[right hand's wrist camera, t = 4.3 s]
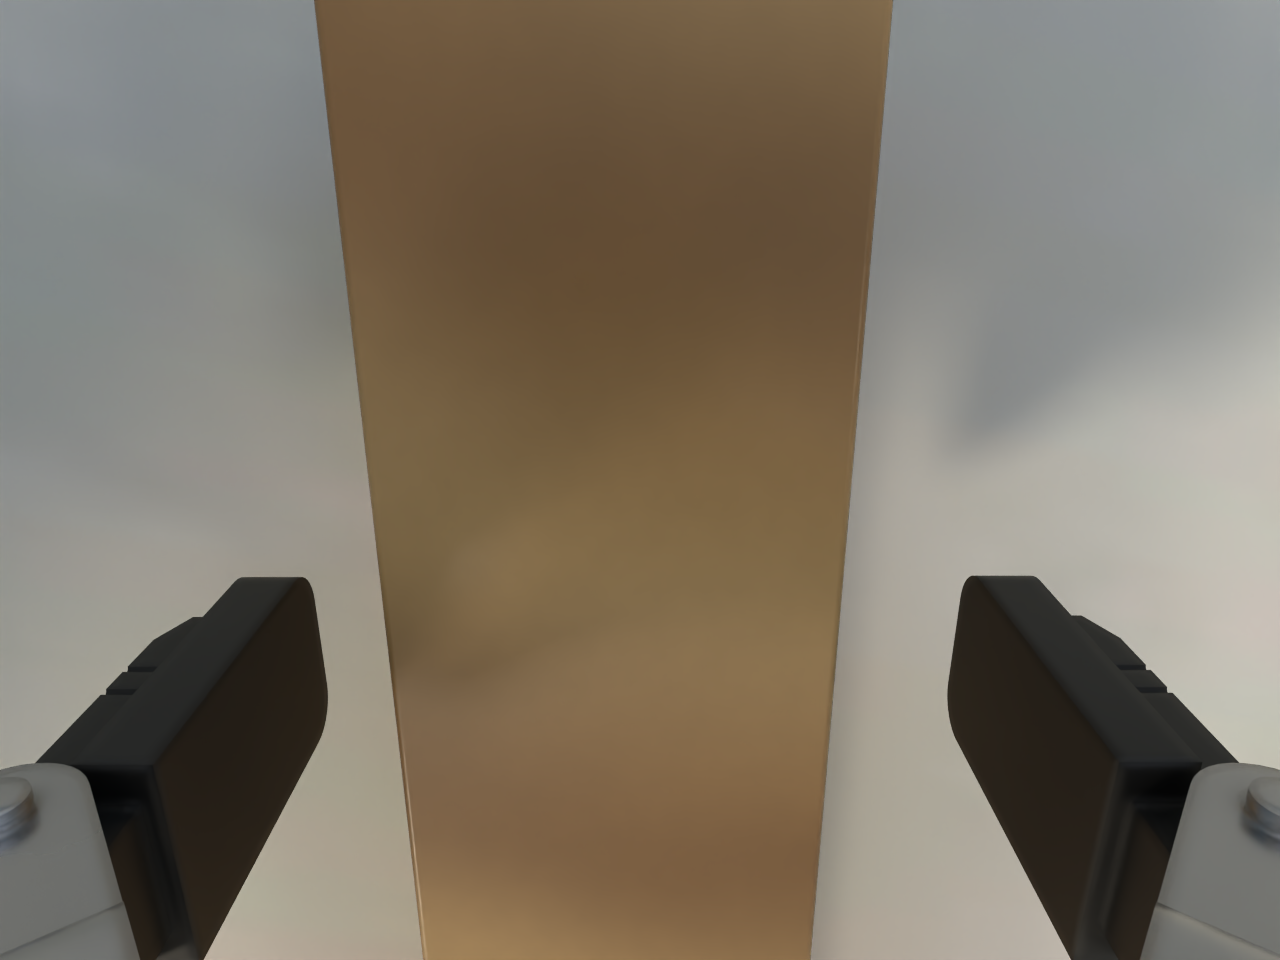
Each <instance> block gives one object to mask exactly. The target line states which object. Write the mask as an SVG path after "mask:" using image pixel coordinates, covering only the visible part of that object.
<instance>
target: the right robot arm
mask: <svg viewBox="0 0 1280 960" xmlns="http://www.w3.org/2000/svg"><path fill="white" fill-rule="evenodd" d="M327 705H328V690H327V681H326V675H325V668H324V661H323V654H322V647H321V640H320V633H319V626H318V620H317V613H316V606H315V599H314V594H313V590H312V587H311V585H310V583H309V582H308V580H307V579H306V578H303V577H241V578H239V579H237V580H236V581H235V582H234V583H233V584H232V585H231V587H230V588H229V589H228V590H227V591H226V592H225V593H224V594H223V595H222V597H221V598H220V599H219V600H218V601H217V602H216V603H215V604H214V605H213V606H212V608H211V609H210V610H209V611H208V612H207V613H206V614H205V615H204V616H203V617H192V618H191V619H189V620H187V621H186V622H184V623H182V624H180V625H179V626H177V627H175V628H173V629H172V630H170V631H168V632H167V633H165V634H163V635H161V636H160V637H158V638H156V639H154V640H153V641H152V642H151V643H150V644H149V645H148V646H147V647H146V648H145V649H144V651H143V652H142V653H141V654H140V655H139V656H138V657H137V658H136V659H135V660H134V661H133V662H132V663H131V664H130V665H129V666H128V671H127V672H122V673H121V674H120V675H119V676H118V678H117V679H116V680H115V681H114V682H113V683H112V684H111V685H110V686H109V687H108V688H107V689H106V695H100V696H99V697H98V698H97V699H96V700H95V701H94V702H93V703H92V705H91V706H90V707H89V708H88V709H87V710H86V711H85V712H84V713H83V714H82V715H81V716H80V717H79V718H78V719H77V720H76V721H75V722H74V723H73V724H72V725H71V726H70V727H69V728H68V729H67V731H66V732H65V733H64V734H63V735H62V736H61V737H60V738H59V739H58V740H57V741H56V742H55V743H54V744H53V745H52V746H51V747H50V748H49V749H48V750H47V751H46V752H45V753H44V754H43V755H42V756H41V758H40V759H39V760H38V761H37V762H36V763H34V764H25V765H19V766H14V767H10V768H5V769H2V770H0V960H204V958H205V956H206V954H207V952H208V950H209V948H210V947H211V945H212V943H213V941H214V939H215V937H216V935H217V933H218V931H219V930H220V928H221V926H222V924H223V922H224V920H225V918H226V916H227V914H228V912H229V911H230V909H231V907H232V905H233V903H234V901H235V899H236V897H237V895H238V894H239V892H240V890H241V888H242V886H243V884H244V882H245V880H246V878H247V877H248V875H249V873H250V871H251V869H252V867H253V865H254V863H255V861H256V860H257V858H258V856H259V854H260V852H261V850H262V848H263V846H264V844H265V843H266V841H267V839H268V837H269V835H270V833H271V831H272V829H273V827H274V826H275V824H276V822H277V820H278V818H279V816H280V814H281V812H282V810H283V809H284V807H285V805H286V803H287V801H288V799H289V797H290V795H291V793H292V792H293V790H294V788H295V786H296V784H297V782H298V780H299V778H300V776H301V775H302V773H303V771H304V769H305V767H306V765H307V763H308V761H309V759H310V758H311V756H312V754H313V752H314V750H315V748H316V746H317V744H318V742H319V740H320V738H321V736H322V733H323V729H324V726H325V721H326V715H327ZM948 711H949V718H950V723H951V727H952V730H953V733H954V736H955V738H956V740H957V742H958V744H959V746H960V748H961V750H962V752H963V754H964V756H965V758H966V759H967V761H968V763H969V765H970V767H971V769H972V771H973V773H974V775H975V777H976V779H977V780H978V782H979V784H980V786H981V788H982V790H983V792H984V794H985V796H986V798H987V800H988V802H989V803H990V805H991V807H992V809H993V811H994V813H995V815H996V817H997V819H998V821H999V823H1000V824H1001V826H1002V828H1003V830H1004V832H1005V834H1006V836H1007V838H1008V840H1009V842H1010V844H1011V846H1012V847H1013V849H1014V851H1015V853H1016V855H1017V857H1018V859H1019V861H1020V863H1021V865H1022V867H1023V868H1024V870H1025V872H1026V874H1027V876H1028V878H1029V880H1030V882H1031V884H1032V886H1033V888H1034V890H1035V891H1036V893H1037V895H1038V897H1039V899H1040V901H1041V903H1042V905H1043V907H1044V909H1045V911H1046V912H1047V914H1048V916H1049V918H1050V920H1051V922H1052V924H1053V926H1054V928H1055V930H1056V932H1057V934H1058V935H1059V937H1060V939H1061V941H1062V943H1063V945H1064V947H1065V949H1066V951H1067V953H1068V955H1069V956H1070V958H1071V960H1280V770H1278V769H1275V768H1270V767H1266V766H1261V765H1255V764H1246V763H1239V762H1238V761H1237V760H1236V759H1235V758H1234V757H1233V756H1232V755H1231V754H1230V753H1229V752H1228V751H1227V750H1226V748H1225V747H1224V746H1223V745H1222V744H1221V743H1220V742H1219V741H1218V740H1217V739H1216V738H1215V737H1214V736H1213V735H1212V734H1211V733H1210V732H1209V731H1208V730H1207V729H1206V728H1205V726H1204V725H1203V724H1202V723H1201V722H1200V721H1199V720H1198V719H1197V718H1196V717H1195V716H1194V715H1193V714H1192V713H1191V712H1190V711H1189V710H1188V709H1187V708H1186V707H1185V706H1184V704H1183V703H1182V702H1181V701H1180V700H1179V699H1178V698H1177V697H1176V696H1175V695H1174V694H1173V693H1168V692H1167V687H1166V686H1165V685H1164V683H1163V682H1162V681H1161V680H1160V679H1159V678H1158V677H1157V676H1156V675H1155V674H1154V673H1153V672H1152V671H1151V670H1146V665H1145V664H1144V663H1143V661H1142V660H1141V659H1140V658H1139V657H1138V656H1137V655H1136V654H1135V653H1134V652H1133V651H1132V650H1131V649H1130V648H1129V647H1128V646H1127V645H1126V644H1125V643H1124V642H1123V641H1122V639H1121V638H1119V637H1117V636H1116V635H1114V634H1112V633H1110V632H1109V631H1107V630H1105V629H1104V628H1102V627H1100V626H1098V625H1097V624H1095V623H1093V622H1091V621H1090V620H1088V619H1086V618H1085V617H1083V616H1071V615H1070V614H1069V612H1068V611H1067V610H1066V609H1065V608H1064V607H1063V606H1062V605H1061V604H1060V602H1059V601H1058V600H1057V599H1056V598H1055V597H1054V596H1053V595H1052V594H1051V592H1050V591H1049V590H1048V589H1047V588H1046V587H1045V586H1044V585H1043V583H1042V582H1041V581H1040V580H1039V579H1038V578H1036V577H1034V576H970V577H969V578H968V579H967V580H966V582H965V584H964V586H963V589H962V593H961V598H960V605H959V612H958V619H957V626H956V633H955V640H954V647H953V654H952V661H951V668H950V675H949V682H948Z"/></svg>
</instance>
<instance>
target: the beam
mask: <svg viewBox="0 0 1280 960" xmlns="http://www.w3.org/2000/svg"><path fill="white" fill-rule="evenodd" d="M314 4H315V13H316V22H317V31H318V39H319V48H320V57H321V66H322V74H323V83H324V92H325V101H326V110H327V118H328V127H329V136H330V145H331V153H332V162H333V171H334V180H335V189H336V197H337V206H338V215H339V224H340V232H341V241H342V250H343V259H344V268H345V276H346V285H347V294H348V303H349V311H350V320H351V329H352V338H353V346H354V355H355V364H356V373H357V382H358V390H359V399H360V408H361V417H362V425H363V434H364V443H365V452H366V461H367V469H368V478H369V487H370V496H371V504H372V513H373V522H374V531H375V540H376V548H377V557H378V566H379V575H380V583H381V592H382V601H383V610H384V619H385V627H386V636H387V645H388V654H389V662H390V671H391V680H392V689H393V698H394V706H395V715H396V724H397V733H398V741H399V750H400V759H401V768H402V777H403V785H404V794H405V803H406V812H407V820H408V829H409V838H410V847H411V856H412V864H413V873H414V882H415V891H416V899H417V908H418V917H419V926H420V935H421V943H422V952H423V960H810V957H811V946H812V934H813V923H814V911H815V900H816V888H817V876H818V865H819V853H820V842H821V830H822V818H823V807H824V795H825V784H826V772H827V761H828V749H829V737H830V726H831V714H832V703H833V691H834V679H835V668H836V656H837V645H838V633H839V622H840V610H841V598H842V587H843V575H844V564H845V552H846V540H847V529H848V517H849V506H850V494H851V483H852V471H853V459H854V448H855V436H856V425H857V413H858V401H859V390H860V378H861V367H862V355H863V344H864V332H865V320H866V309H867V297H868V286H869V274H870V262H871V251H872V239H873V228H874V216H875V205H876V193H877V181H878V170H879V158H880V147H881V135H882V123H883V112H884V100H885V89H886V77H887V66H888V54H889V42H890V31H891V19H892V8H893V0H314Z"/></svg>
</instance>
